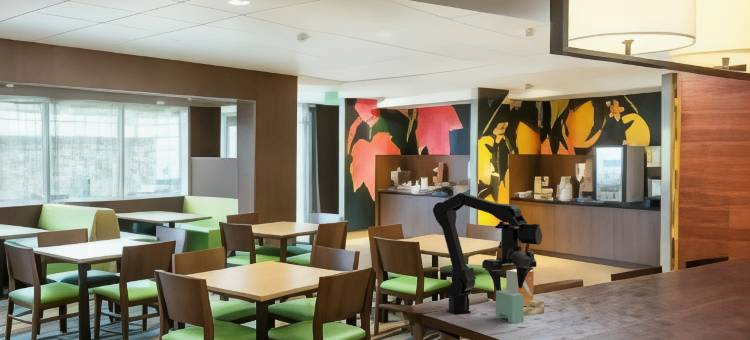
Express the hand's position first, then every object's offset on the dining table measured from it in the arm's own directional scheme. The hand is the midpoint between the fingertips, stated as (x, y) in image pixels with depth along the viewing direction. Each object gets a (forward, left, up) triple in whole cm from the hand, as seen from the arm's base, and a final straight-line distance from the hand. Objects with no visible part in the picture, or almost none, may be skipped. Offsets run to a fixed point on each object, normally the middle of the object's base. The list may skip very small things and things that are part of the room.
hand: (509, 289), depth 218 cm
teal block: (0, 0, -10) cm, 10 cm away
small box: (+18, +17, -11) cm, 27 cm away
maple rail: (+11, +5, -10) cm, 16 cm away
